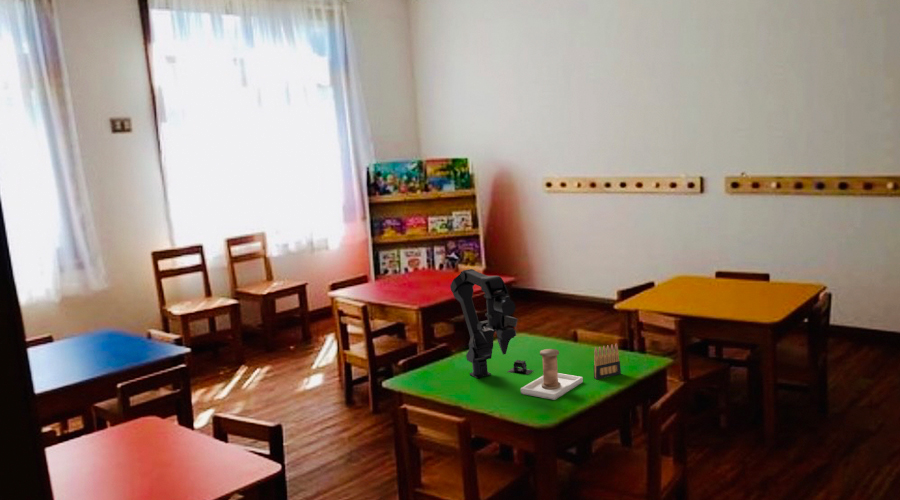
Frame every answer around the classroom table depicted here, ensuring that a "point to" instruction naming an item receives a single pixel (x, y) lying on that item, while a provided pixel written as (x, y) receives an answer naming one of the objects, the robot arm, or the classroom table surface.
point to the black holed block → (520, 370)
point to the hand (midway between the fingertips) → (497, 351)
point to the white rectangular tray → (566, 385)
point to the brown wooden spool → (550, 369)
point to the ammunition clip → (606, 362)
